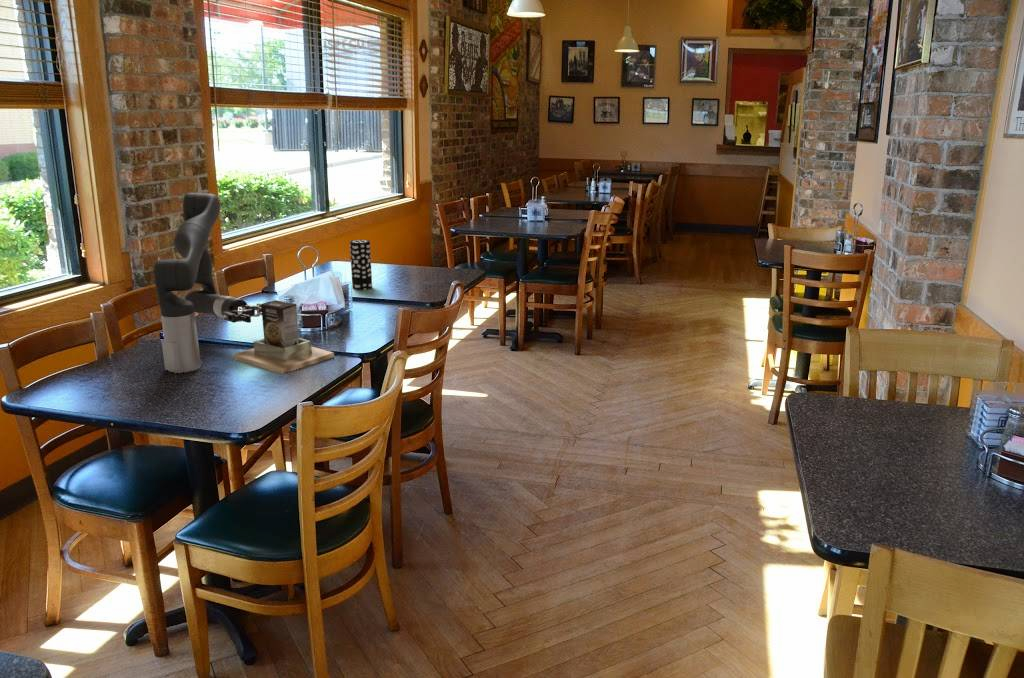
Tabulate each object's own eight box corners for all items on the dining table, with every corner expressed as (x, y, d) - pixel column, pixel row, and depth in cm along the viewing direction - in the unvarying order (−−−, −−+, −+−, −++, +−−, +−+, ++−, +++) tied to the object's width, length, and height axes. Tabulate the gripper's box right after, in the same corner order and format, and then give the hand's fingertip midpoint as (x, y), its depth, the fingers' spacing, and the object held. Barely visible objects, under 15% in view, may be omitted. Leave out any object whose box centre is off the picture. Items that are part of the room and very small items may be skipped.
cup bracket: (282, 374, 234) (280, 356, 232) (233, 358, 247) (231, 342, 245) (334, 357, 249) (332, 340, 247) (284, 343, 262) (283, 327, 261)
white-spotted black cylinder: (350, 286, 339) (347, 240, 333) (369, 284, 343) (366, 239, 337) (355, 290, 332) (352, 243, 326) (374, 289, 335) (372, 242, 329)
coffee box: (264, 353, 247) (259, 303, 242) (279, 348, 253) (275, 299, 248) (286, 358, 243) (281, 307, 238) (301, 352, 248) (296, 303, 243)
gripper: (210, 301, 252) (240, 309, 243) (247, 293, 263) (279, 300, 254) (212, 324, 255) (243, 333, 245) (250, 314, 266) (280, 322, 256)
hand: (261, 316), depth 250 cm, fingers open, 8 cm apart
